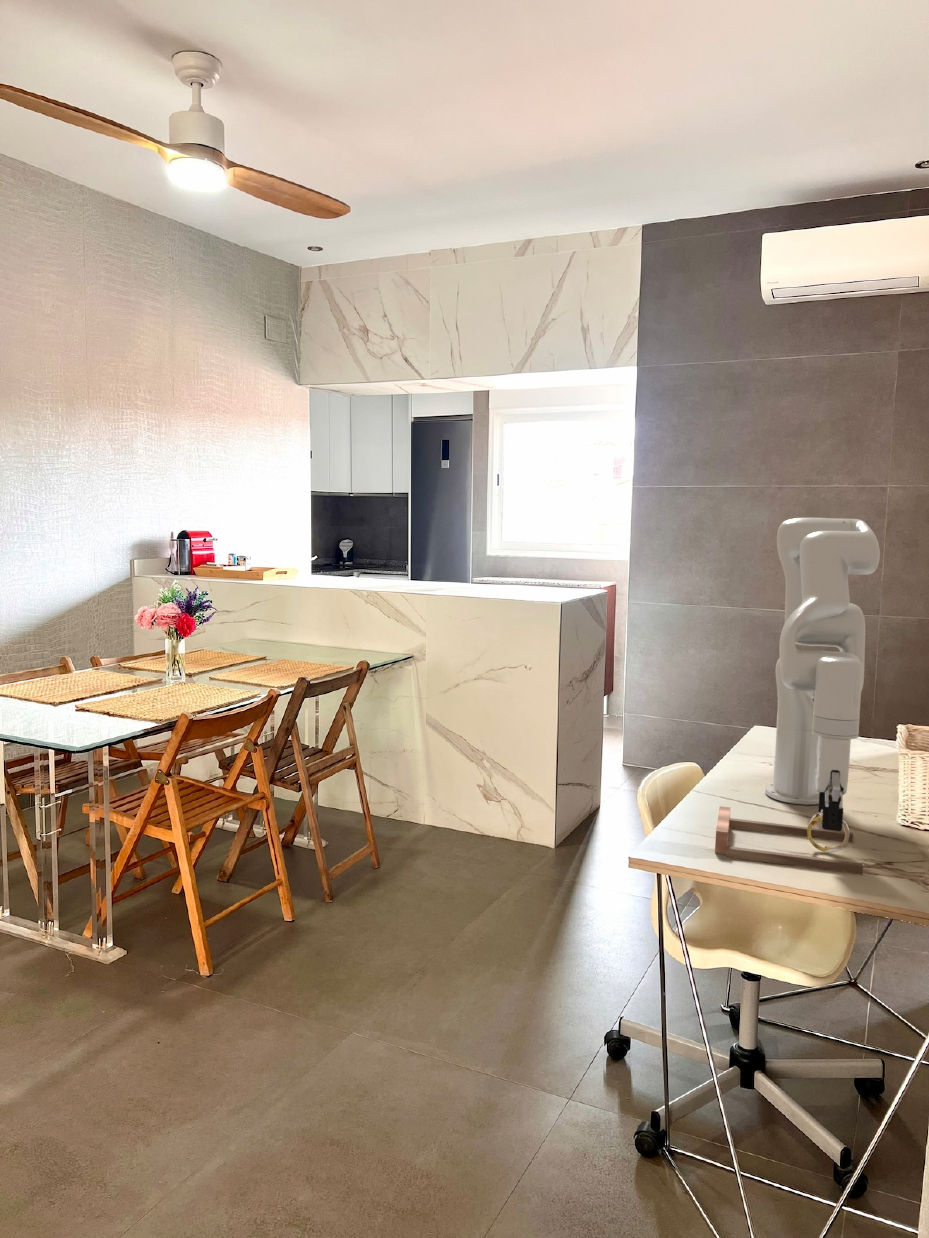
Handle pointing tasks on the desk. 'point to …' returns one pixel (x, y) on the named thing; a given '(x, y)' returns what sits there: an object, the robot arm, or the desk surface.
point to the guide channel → (781, 858)
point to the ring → (826, 849)
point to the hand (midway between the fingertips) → (829, 821)
